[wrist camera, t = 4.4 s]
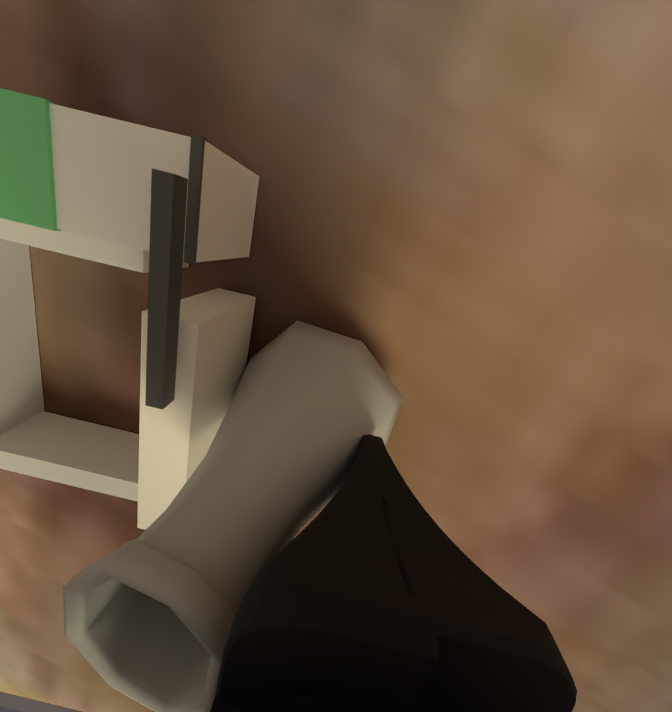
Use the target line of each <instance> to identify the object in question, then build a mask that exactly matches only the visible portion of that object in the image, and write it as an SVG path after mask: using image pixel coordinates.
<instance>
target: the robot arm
mask: <svg viewBox="0 0 672 712" xmlns="http://www.w3.org/2000/svg"><path fill="white" fill-rule="evenodd" d="M576 694H577V689H576V686H575V684H574V681H573V678H572V676H571V674H570V672H569V670H568V668H567V665H566V663H565V661H564V659H563V657H562V655H561V653H560V651H559V649H558V647H557V645H556V643H555V640H554V638H553V636H552V634H551V632H550V631H549V629H548V627H547V625H546V623H545V622H543V621H542V620H541V619H540V618H538V617H537V616H536V615H535V614H533V613H532V612H531V611H530V610H528V609H527V608H526V607H525V606H523V605H522V604H521V603H520V602H518V601H517V600H516V599H515V598H513V597H512V596H511V595H510V594H508V593H507V592H506V591H505V590H503V589H502V588H501V587H500V586H499V585H498V584H496V583H495V582H494V581H493V580H492V579H491V578H490V577H489V576H487V575H486V574H485V573H484V572H483V571H482V570H481V569H480V568H479V567H477V566H476V565H475V564H474V563H473V562H472V561H471V560H470V559H469V558H468V557H467V556H466V555H465V554H464V553H463V552H462V551H461V550H460V549H459V548H458V547H457V546H456V545H455V544H454V543H453V542H452V541H451V540H450V539H449V537H448V536H447V535H446V534H445V533H444V532H443V531H442V530H441V529H440V528H439V526H438V525H437V524H436V523H435V522H434V520H433V519H432V518H431V517H430V516H429V514H428V513H427V512H426V511H425V509H424V508H423V507H422V506H421V504H420V503H419V502H418V500H417V499H416V497H415V496H414V495H413V493H412V492H411V490H410V489H409V487H408V486H407V484H406V483H405V481H404V480H403V478H402V476H401V475H400V473H399V472H398V470H397V468H396V466H395V465H394V463H393V461H392V459H391V458H390V456H389V454H388V452H387V450H386V448H385V445H384V442H383V439H382V437H378V436H374V435H370V434H367V435H363V436H362V439H361V442H360V445H359V448H358V451H357V455H356V458H355V461H354V464H353V466H352V468H351V470H350V471H349V473H348V475H347V477H346V478H345V480H344V482H343V483H342V485H341V486H340V488H339V489H338V491H337V492H336V494H335V495H334V496H333V498H332V499H331V500H330V501H329V503H328V504H327V505H326V506H325V508H324V509H323V510H322V511H321V512H320V513H319V515H318V516H317V517H316V518H315V519H314V520H313V521H312V522H311V523H310V524H309V525H308V526H307V527H306V528H305V529H304V530H303V531H302V532H301V533H300V534H299V535H298V536H296V537H295V538H294V539H293V540H292V541H291V542H289V543H288V544H287V545H286V546H284V547H283V548H282V549H281V550H280V551H278V552H277V553H276V554H275V555H273V556H272V557H271V559H270V561H269V562H268V563H267V565H266V566H265V568H264V569H263V571H262V572H261V573H260V575H259V576H258V578H257V579H256V581H255V582H254V584H253V585H252V587H251V589H250V590H249V592H248V594H247V595H246V597H245V599H244V600H243V602H242V604H241V606H240V608H239V610H238V612H237V614H236V617H235V619H234V621H233V624H232V627H231V630H230V633H229V636H228V639H227V642H226V645H225V648H224V651H223V655H222V661H221V666H220V672H219V678H218V683H217V689H216V695H215V698H214V701H213V704H212V707H211V710H210V711H207V712H571V711H572V710H573V708H574V705H575V703H576ZM0 712H81V711H77V710H73V709H69V708H65V707H61V706H57V705H53V704H49V703H44V702H40V701H36V700H32V699H28V698H24V697H20V696H16V695H12V694H8V693H4V692H0Z"/></svg>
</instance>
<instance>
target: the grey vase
mask: <svg viewBox="0 0 672 712" xmlns="http://www.w3.org/2000/svg"><path fill="white" fill-rule="evenodd" d="M402 400H403V396H402V395H401V394H400V392H399V391H398V390H397V388H396V387H395V385H394V384H393V383H392V381H391V380H390V379H389V377H388V376H387V375H386V373H385V372H384V370H383V369H382V368H381V366H380V365H379V364H378V362H377V361H376V360H375V358H374V357H373V355H372V354H371V353H370V351H369V350H368V349H367V347H366V346H365V345H364V343H363V342H362V341H359V340H356V339H353V338H350V337H347V336H344V335H341V334H338V333H335V332H331V331H328V330H325V329H322V328H319V327H316V326H313V325H310V324H307V323H304V322H301V321H298V320H297V321H296V322H295V323H293V324H292V325H291V326H289V327H288V328H287V329H286V330H284V331H283V332H282V333H281V334H279V335H278V336H277V337H276V338H274V339H273V340H272V341H271V342H269V343H268V344H267V345H266V346H264V347H263V348H262V349H261V350H259V351H258V352H257V353H256V354H254V355H253V356H252V357H251V358H250V360H249V362H248V364H247V366H246V368H245V371H244V373H243V376H242V378H241V381H240V383H239V385H238V388H237V390H236V393H235V395H234V397H233V400H232V402H231V404H230V406H229V408H228V410H227V412H226V414H225V416H224V419H223V421H222V423H221V425H220V427H219V429H218V431H217V433H216V435H215V437H214V439H213V441H212V443H211V445H210V447H209V449H208V452H207V454H206V456H205V457H204V459H203V460H202V461H201V463H200V464H199V465H198V467H197V468H196V470H195V471H194V472H193V474H192V475H191V476H190V478H189V479H188V480H187V482H186V483H185V485H184V486H183V487H182V489H181V490H180V491H179V493H178V494H177V496H176V497H175V498H174V500H173V501H172V502H171V504H170V505H169V506H168V508H167V509H166V510H165V511H164V512H163V513H162V514H161V515H160V516H159V517H158V518H157V519H156V520H155V521H154V522H153V523H152V524H151V525H150V526H149V527H148V528H147V529H146V530H145V531H144V532H143V533H142V534H141V535H140V536H139V537H138V538H137V539H134V540H130V541H128V542H126V543H125V544H123V545H121V546H120V547H118V548H117V549H115V550H113V551H112V552H110V553H109V554H107V555H105V556H104V557H102V558H101V559H99V560H97V561H96V562H94V563H93V564H91V565H89V566H88V567H86V568H85V569H83V570H82V571H80V572H79V573H77V574H76V575H75V576H74V577H73V578H72V579H71V580H70V581H69V582H68V583H67V584H66V585H65V586H64V587H63V594H64V634H65V636H66V637H67V638H68V639H69V640H70V642H71V643H72V644H73V645H74V646H75V647H76V648H77V649H78V651H79V652H80V653H81V654H82V655H83V656H84V657H85V658H86V660H87V661H88V662H89V663H90V664H91V665H92V666H93V667H94V669H95V670H96V671H97V672H98V673H99V674H100V675H101V676H102V677H103V679H104V680H105V681H106V682H107V683H108V684H109V685H110V686H111V687H112V688H114V689H116V690H118V691H119V692H121V693H123V694H125V695H127V696H128V697H130V698H132V699H134V700H135V701H137V702H139V703H141V704H142V705H144V706H146V707H148V708H149V709H151V710H153V711H155V712H207V711H210V710H211V707H212V704H213V701H214V698H215V695H216V689H217V683H218V678H219V672H220V666H221V661H222V655H223V651H224V648H225V645H226V642H227V639H228V636H229V633H230V630H231V627H232V624H233V621H234V619H235V617H236V614H237V612H238V610H239V608H240V606H241V604H242V602H243V600H244V599H245V597H246V595H247V594H248V592H249V590H250V589H251V587H252V585H253V584H254V582H255V581H256V579H257V578H258V576H259V575H260V573H261V572H262V571H263V569H264V568H265V566H266V565H267V563H268V562H269V561H270V559H271V557H272V556H273V555H275V554H276V553H277V552H278V551H280V550H281V549H282V548H283V547H284V546H286V545H287V544H288V543H289V542H291V541H292V539H293V538H294V536H295V535H296V534H297V532H298V531H299V530H300V528H301V527H303V526H304V525H305V524H306V523H307V522H308V521H309V520H310V519H311V518H312V517H313V516H314V515H315V514H316V513H317V512H318V511H320V510H321V509H322V508H323V507H324V506H325V505H326V504H327V503H328V502H329V501H330V500H331V499H332V498H333V496H334V495H335V494H336V492H337V491H338V489H339V488H340V486H341V485H342V483H343V482H344V480H345V478H346V477H347V475H348V473H349V471H350V470H351V468H352V466H353V464H354V461H355V458H356V455H357V451H358V448H359V445H360V442H361V439H362V436H363V435H367V434H370V435H374V436H378V437H382V439H383V442H384V445H385V446H386V443H387V441H388V438H389V435H390V432H391V430H392V427H393V424H394V422H395V419H396V416H397V414H398V411H399V408H400V406H401V403H402Z"/></svg>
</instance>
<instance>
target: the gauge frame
mask: <svg viewBox="0 0 672 712" xmlns="http://www.w3.org/2000/svg"><path fill="white" fill-rule="evenodd" d="M152 169H157V170H161V171H165V172H169V173H173V174H176V175H179V176H181V177H184V178H187V179H188V185H187V201H186V218H185V234H184V250H183V267H182V268H185V267H189V263H190V264H198V262H205V261H214V260H224V259H233V258H243V257H249V254H250V246H251V239H252V231H253V223H254V215H255V207H256V200H257V192H258V184H259V176H258V175H256V174H255V173H253V172H252V171H250V170H249V169H247V168H246V167H244V166H243V165H241V164H240V163H238V162H237V161H235V160H234V159H232V158H231V157H229V156H228V155H226V154H225V153H223V152H222V151H220V150H219V149H217V148H216V147H214V146H213V145H211V144H209V143H208V142H207V139H206V138H204V137H202V136H198V135H194V134H191V137H188V136H184V135H180V134H176V133H172V132H167V131H163V130H159V129H155V128H151V127H147V126H142V125H138V124H134V123H130V122H126V121H122V120H117V119H113V118H109V117H105V116H101V115H97V114H93V113H88V112H84V111H80V110H76V109H72V108H68V107H63V106H59V105H55V104H53V102H51V101H49V100H46V99H44V98H40V97H36V96H32V95H27V94H23V93H19V92H15V91H11V90H7V89H2V88H0V469H4V470H8V471H13V472H17V473H21V474H25V475H29V476H33V477H38V478H42V479H46V480H50V481H54V482H58V483H62V484H67V485H71V486H75V487H79V488H83V489H87V490H92V491H96V492H100V493H104V494H108V495H112V496H117V497H121V498H125V499H129V500H133V501H137V502H138V473H139V434H136V433H132V432H128V431H124V430H120V429H116V428H111V427H107V426H103V425H99V424H95V423H91V422H86V421H82V420H78V419H74V418H70V417H66V416H62V415H57V414H53V413H49V412H45V410H44V400H43V389H42V379H41V368H40V357H39V347H38V336H37V326H36V315H35V304H34V294H33V283H32V272H31V262H30V251H29V246H33V247H37V248H41V249H46V250H50V251H54V252H58V253H62V254H66V255H70V256H75V257H79V258H83V259H87V260H91V261H95V262H100V263H104V264H108V265H112V266H116V267H120V268H125V269H129V270H133V271H137V272H141V273H146V272H149V249H150V212H151V174H152Z"/></svg>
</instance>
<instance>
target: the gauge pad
mask: <svg viewBox="0 0 672 712" xmlns="http://www.w3.org/2000/svg"><path fill="white" fill-rule="evenodd" d="M187 185H188V179H187V178H184V177H181V176H179V175H176V174H173V173H169V172H165V171H161V170H157V169H152V174H151V212H150V249H149V286H148V309H147V310H144V311H142V326H141V375H140V424H139V473H138V523H137V528H140V529H144V530H146V529H147V528H148V527H149V526H150V525H151V524H152V523H153V522H154V521H155V520H156V519H157V518H158V517H159V516H160V515H161V514H162V513H163V512H164V511H165V510H166V509H167V508H168V506H169V505H170V504H171V502H172V501H173V500H174V498H175V497H176V496H177V494H178V493H179V491H180V490H181V489H182V487H183V486H184V485H185V483H186V482H187V480H188V479H189V478H190V476H191V475H192V474H193V472H194V471H195V470H196V468H197V467H198V465H199V464H200V463H201V461H202V460H203V459H204V457H205V456H206V454H207V452H208V449H209V447H210V445H211V443H212V441H213V439H214V437H215V435H216V433H217V431H218V429H219V427H220V425H221V423H222V421H223V419H224V416H225V414H226V412H227V410H228V408H229V406H230V404H231V402H232V400H233V397H234V395H235V393H236V390H237V388H238V385H239V383H240V381H241V378H242V376H243V373H244V371H245V368H246V364H247V357H248V350H249V343H250V336H251V329H252V322H253V315H254V308H255V300H256V297H254V296H250V295H246V294H242V293H238V292H234V291H229V290H225V289H221V288H217V289H214V290H210V291H207V292H204V293H200V294H197V295H194V296H190V297H187V298H184V299H181V283H182V267H183V250H184V234H185V218H186V201H187Z"/></svg>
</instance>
